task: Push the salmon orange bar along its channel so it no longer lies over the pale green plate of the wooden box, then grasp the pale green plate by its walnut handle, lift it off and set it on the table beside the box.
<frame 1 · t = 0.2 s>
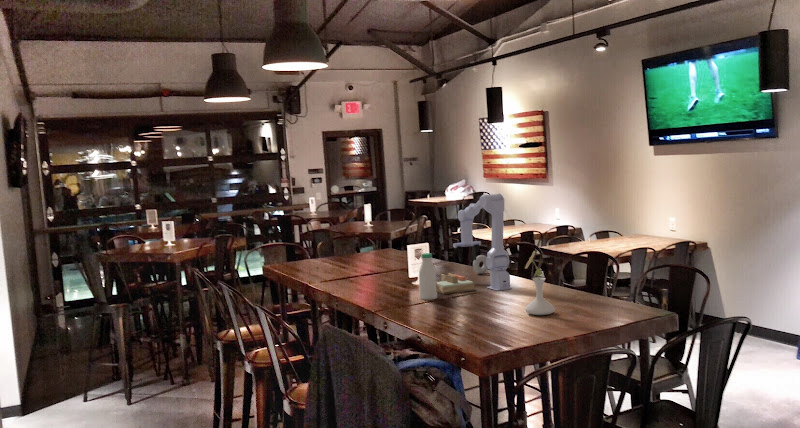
hand: (467, 260, 340), 10 cm above the table, tool pointing down, fingers open, 7 cm apart
key channel: (451, 285, 331), on the table
salmon orange bar: (458, 277, 324), point 5 cm above the table, slide at 0.0 cm
flower in vase: (539, 314, 261), on the table
milk bottle: (428, 298, 301), on the table
wooden box: (453, 290, 317), on the table
donut: (481, 274, 360), on the table
pale green plate: (453, 283, 317), point 3 cm above the table, touching wooden box
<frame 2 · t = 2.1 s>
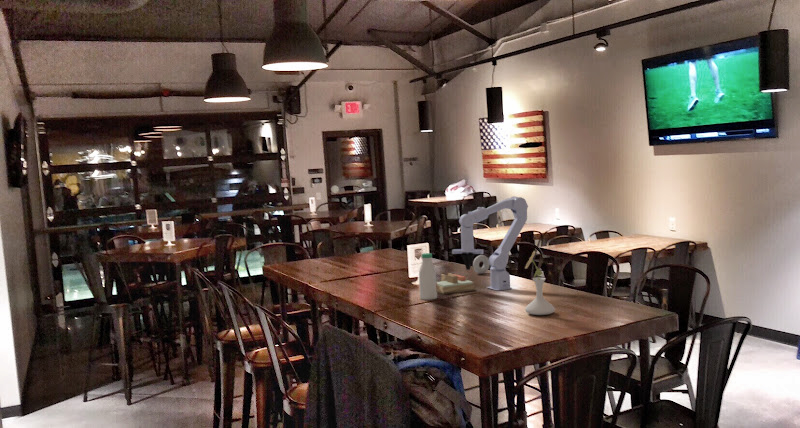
hand: (468, 269, 314), 10 cm above the table, tool pointing down, fingers closed
nothing on the table moved.
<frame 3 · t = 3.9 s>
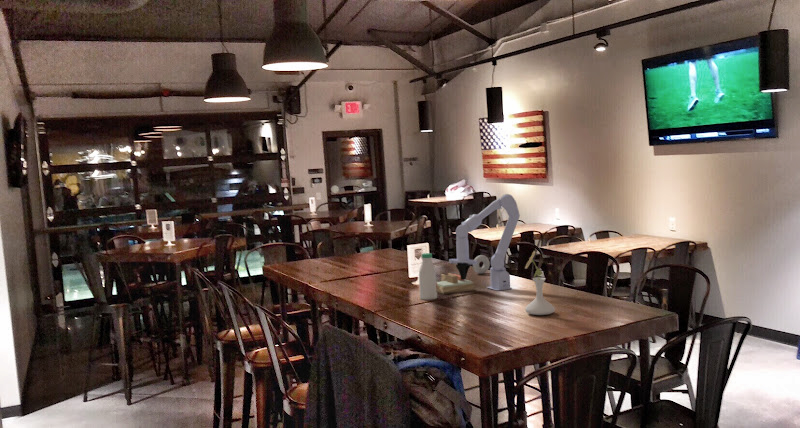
hand: (463, 279, 319), 5 cm above the table, tool pointing down, fingers closed
salmon orange bar: (457, 277, 325), point 5 cm above the table, slide at 0.9 cm, touching gripper
everything else where it was.
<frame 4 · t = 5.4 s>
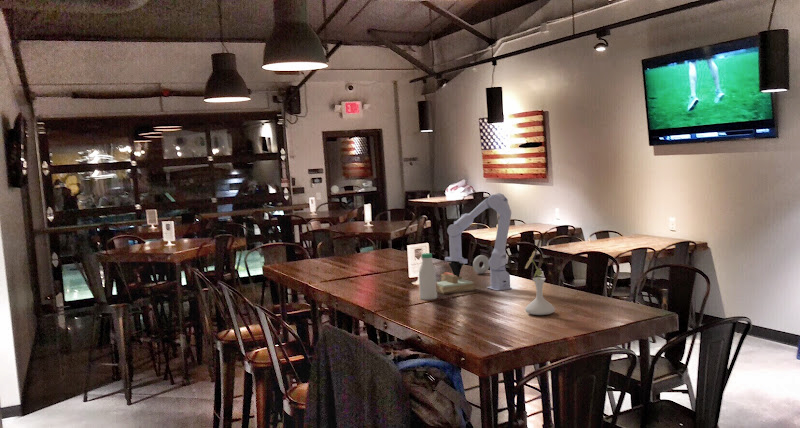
hand: (456, 277, 325), 5 cm above the table, tool pointing down, fingers closed
salmon orange bar: (450, 275, 331), point 5 cm above the table, slide at 7.5 cm, touching gripper
everything else where it was.
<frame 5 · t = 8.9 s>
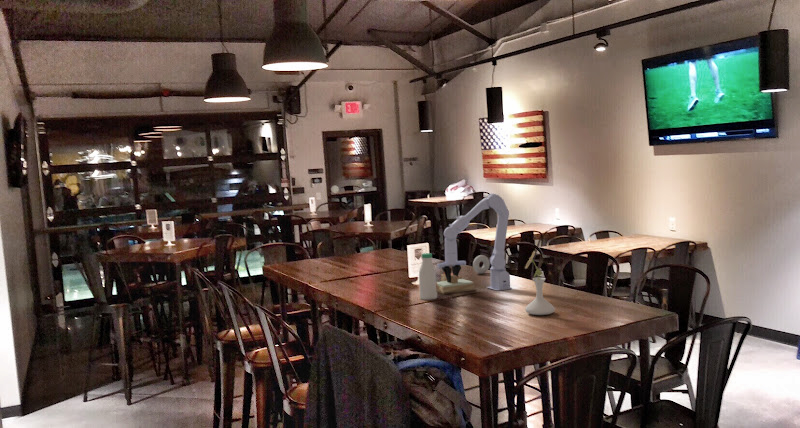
hand: (452, 281, 317), 4 cm above the table, tool pointing down, fingers closed on pale green plate, 3 cm apart
salmon orange bar: (450, 275, 331), point 5 cm above the table, slide at 7.6 cm
pale green plate: (453, 283, 317), point 3 cm above the table, touching gripper, wooden box
everything else where it was.
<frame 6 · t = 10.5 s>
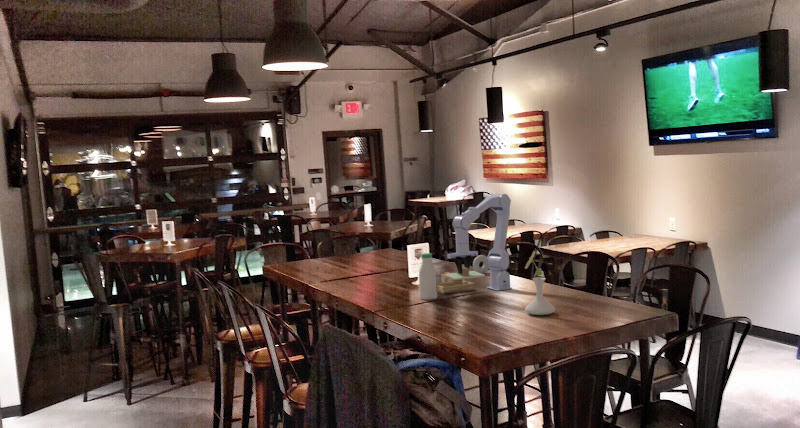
hand: (463, 273, 302), 10 cm above the table, tool pointing down, fingers closed on pale green plate, 3 cm apart
pale green plate: (464, 276, 303), point 9 cm above the table, touching gripper
everything else where it was.
when the fingers open (3 cm above the table, at t = 12.3 s): pale green plate drops 2 cm, on the table.
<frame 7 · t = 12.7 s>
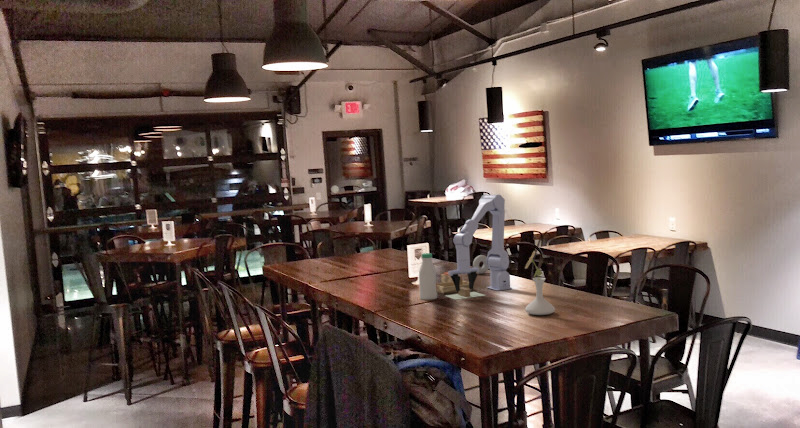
hand: (464, 289, 303), 3 cm above the table, tool pointing down, fingers open, 6 cm apart
pale green plate: (465, 297, 303), on the table
everything else where it was.
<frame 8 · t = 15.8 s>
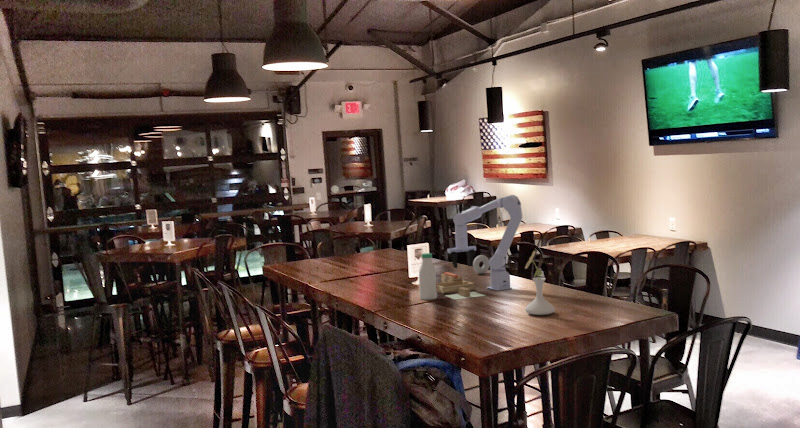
hand: (462, 266, 322), 10 cm above the table, tool pointing down, fingers open, 7 cm apart
nothing on the table moved.
at the end: salmon orange bar slide at 7.6 cm; pale green plate inside the target area (0.9 cm from its centre), on the table; pale green plate tilted 0° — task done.
